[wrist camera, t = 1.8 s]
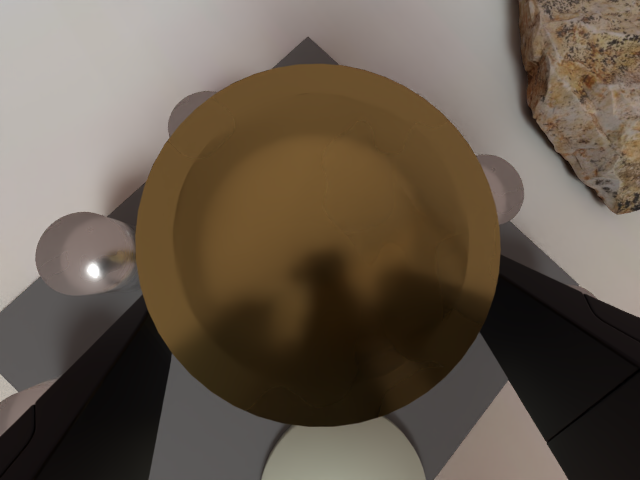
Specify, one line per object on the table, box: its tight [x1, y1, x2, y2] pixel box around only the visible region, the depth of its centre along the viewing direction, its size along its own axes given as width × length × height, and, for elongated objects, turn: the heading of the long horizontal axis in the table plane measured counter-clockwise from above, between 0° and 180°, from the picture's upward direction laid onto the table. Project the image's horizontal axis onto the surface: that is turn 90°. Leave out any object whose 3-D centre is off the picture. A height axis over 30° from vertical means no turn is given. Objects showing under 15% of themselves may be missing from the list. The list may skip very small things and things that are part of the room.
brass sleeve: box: [135, 64, 501, 427], centre depth 11 cm, size 5×5×13 cm
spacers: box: [0, 91, 597, 436], centre depth 15 cm, size 16×28×4 cm, turn 100°
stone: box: [518, 0, 640, 215], centre depth 19 cm, size 21×6×10 cm
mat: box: [0, 37, 579, 480], centre depth 17 cm, size 24×26×1 cm
